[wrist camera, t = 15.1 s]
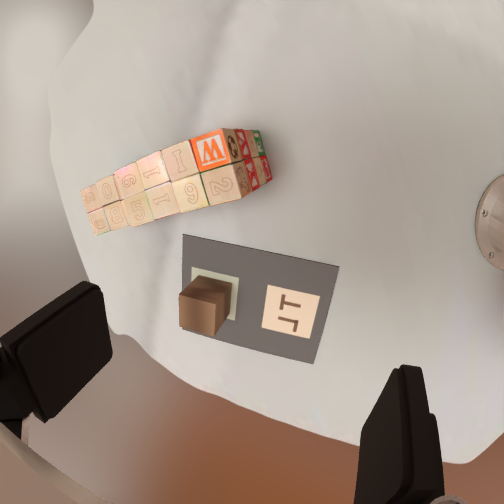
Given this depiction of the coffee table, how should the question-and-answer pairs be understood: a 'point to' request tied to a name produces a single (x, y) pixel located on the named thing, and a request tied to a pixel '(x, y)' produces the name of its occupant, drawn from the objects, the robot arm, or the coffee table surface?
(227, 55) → the coffee table surface
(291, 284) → the mat
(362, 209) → the coffee table surface
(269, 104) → the coffee table surface
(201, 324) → the walnut block
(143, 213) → the stack of blocks
